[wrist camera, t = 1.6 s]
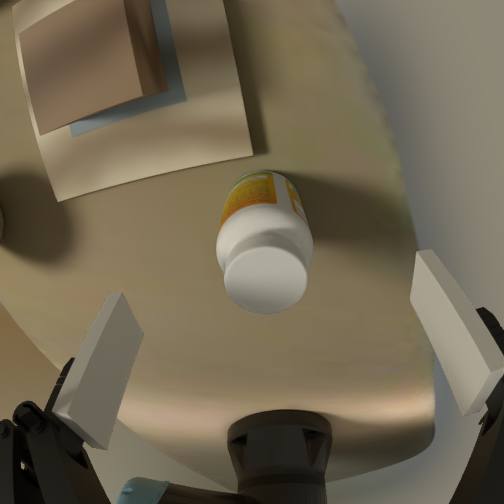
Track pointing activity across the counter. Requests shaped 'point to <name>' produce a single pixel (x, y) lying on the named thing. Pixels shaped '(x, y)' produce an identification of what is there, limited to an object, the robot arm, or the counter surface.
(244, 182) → the supplement bottle
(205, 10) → the tan flat sheet
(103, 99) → the walnut block
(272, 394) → the counter surface
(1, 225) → the flower pot
